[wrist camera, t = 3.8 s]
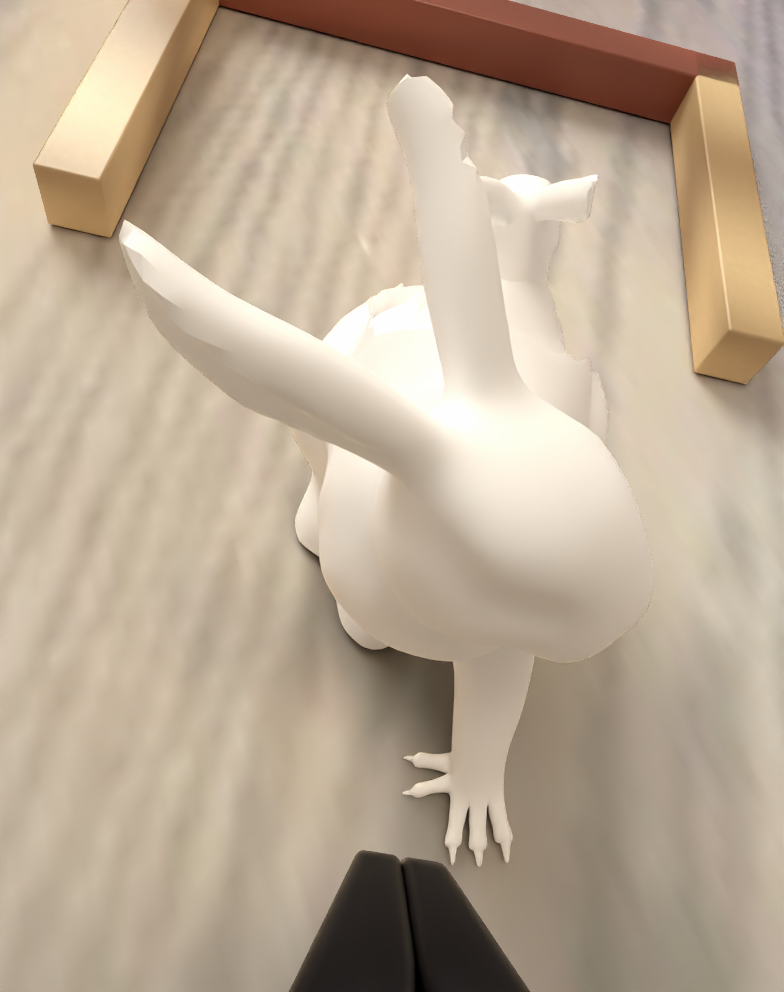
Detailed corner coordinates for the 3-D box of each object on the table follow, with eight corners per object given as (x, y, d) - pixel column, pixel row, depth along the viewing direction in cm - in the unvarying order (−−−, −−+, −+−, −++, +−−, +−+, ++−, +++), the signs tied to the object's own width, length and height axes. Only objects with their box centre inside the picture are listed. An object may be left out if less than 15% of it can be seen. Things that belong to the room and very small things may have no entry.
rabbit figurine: (505, 879, 14) (926, 831, 5) (98, 777, 13) (-135, 552, 5) (563, 380, 20) (801, -5, 11) (285, 300, 19) (323, -160, 11)
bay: (746, 385, 21) (787, 343, 19) (47, 224, 19) (31, 163, 18) (707, 109, 27) (735, 61, 26) (184, -31, 26) (180, -91, 24)
